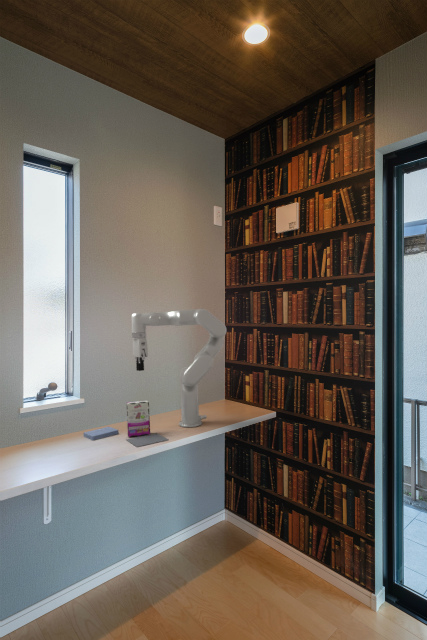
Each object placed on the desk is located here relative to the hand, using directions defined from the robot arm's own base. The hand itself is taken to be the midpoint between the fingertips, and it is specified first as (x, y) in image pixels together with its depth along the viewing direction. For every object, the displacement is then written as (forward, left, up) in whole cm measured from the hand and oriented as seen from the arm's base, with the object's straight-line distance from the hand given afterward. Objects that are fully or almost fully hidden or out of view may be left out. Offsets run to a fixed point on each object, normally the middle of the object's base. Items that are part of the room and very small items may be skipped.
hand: (140, 370), depth 197 cm
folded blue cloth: (+21, -3, -32) cm, 38 cm away
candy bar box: (+6, +10, -31) cm, 33 cm away
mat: (+6, +20, -31) cm, 38 cm away
